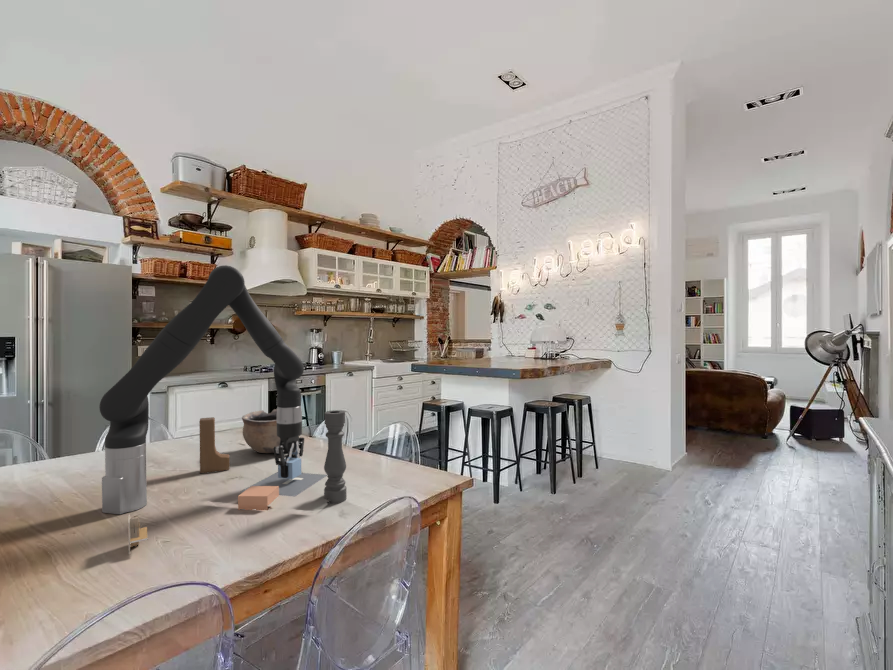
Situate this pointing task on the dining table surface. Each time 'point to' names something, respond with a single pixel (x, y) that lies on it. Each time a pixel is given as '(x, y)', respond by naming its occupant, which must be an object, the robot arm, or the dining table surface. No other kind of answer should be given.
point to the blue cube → (292, 468)
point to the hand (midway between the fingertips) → (289, 474)
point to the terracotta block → (257, 497)
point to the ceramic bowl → (261, 431)
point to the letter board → (290, 483)
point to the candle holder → (335, 458)
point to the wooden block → (210, 449)
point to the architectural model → (135, 532)
